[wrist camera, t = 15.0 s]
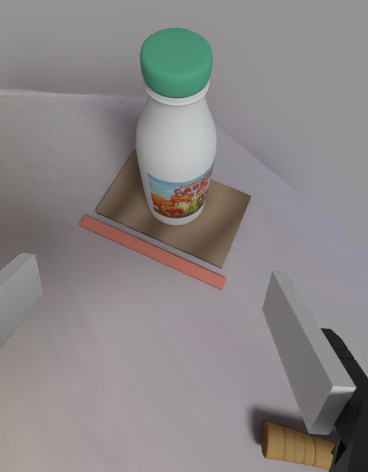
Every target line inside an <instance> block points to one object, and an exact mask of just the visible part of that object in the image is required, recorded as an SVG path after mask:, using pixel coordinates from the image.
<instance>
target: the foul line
mask: <svg viewBox="0 0 368 472" xmlns="http://www.w3.org/2000/svg"><path fill="white" fill-rule="evenodd" d="M79 225H80V226H82V227H84V228H86V229H88V230H90V231H93V232H95V233H97V234H99V235H101V236H104V237H106V238H108V239H110V240H112V241H115V242H117V243H119V244H121V245H123V246H126V247H128V248H130V249H132V250H134V251H137V252H139V253H141V254H143V255H145V256H148V257H150V258H152V259H154V260H156V261H158V262H161V263H163V264H165V265H167V266H169V267H172V268H174V269H176V270H178V271H180V272H183V273H185V274H187V275H189V276H191V277H194V278H196V279H198V280H200V281H202V282H205V283H207V284H209V285H211V286H213V287H215V288H218V289H220V290H222V288H223V285H224V283H225V280H226V278H224V277H222V276H220V275H217V274H215V273H213V272H211V271H209V270H206V269H204V268H202V267H200V266H197V265H195V264H193V263H191V262H189V261H186V260H184V259H182V258H180V257H177V256H175V255H173V254H171V253H169V252H166V251H164V250H162V249H160V248H157V247H155V246H153V245H151V244H148V243H146V242H144V241H142V240H140V239H137V238H135V237H133V236H131V235H128V234H126V233H124V232H122V231H120V230H117V229H115V228H113V227H111V226H108V225H106V224H104V223H102V222H100V221H97V220H95V219H93V218H91V217H88V216H86V215H85V216H84V218H83V219H82V221H81V222H80V224H79Z"/></svg>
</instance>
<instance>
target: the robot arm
mask: <svg viewBox="0 0 368 472" xmlns="http://www.w3.org/2000/svg"><path fill="white" fill-rule="evenodd" d="M42 295H43V290H42V285H41V280H40V275H39V270H38V266H37V261H36V256H35V254H28V253H20V254H19V255H18V256H17V257H16V258H14V259H13V260H12V261H11V262H10V263H9V264H7V265H6V266H5V267H4V268H3V269H1V270H0V348H1V347H2V346H3V344H4V343H5V342H6V341H7V339H8V338H9V337H10V336H11V334H12V333H13V332H14V331H15V329H16V328H17V327H18V326H19V324H20V323H21V322H22V320H23V319H24V318H25V317H26V315H27V314H28V313H29V312H30V310H31V309H32V308H33V307H34V305H35V304H36V303H37V302H38V300H39V299H40V298H41V297H42ZM262 310H263V313H264V316H265V318H266V321H267V324H268V326H269V329H270V332H271V334H272V337H273V340H274V342H275V345H276V348H277V350H278V353H279V356H280V358H281V361H282V364H283V366H284V369H285V372H286V374H287V377H288V380H289V382H290V385H291V388H292V390H293V393H294V396H295V398H296V401H297V404H298V406H299V409H300V412H301V415H302V417H303V420H304V423H305V425H306V428H307V431H308V433H309V434H323V435H329V434H330V432H331V431H332V429H333V427H334V425H335V428H336V430H337V432H338V434H339V436H340V438H339V440H338V441H337V443H336V445H335V446H334V448H333V449H332V451H331V454H332V455H333V459H332V463H331V466H330V470H329V472H368V378H367V376H366V375H365V373H364V372H363V370H362V369H361V367H360V366H359V364H358V363H357V361H356V360H354V357H353V355H352V354H351V352H350V351H348V348H347V346H346V345H345V343H344V342H343V340H342V339H341V338H340V337H339V336H338V335H337V334H336V333H334V332H333V331H332V330H331V329H324V328H320V327H319V325H318V324H317V322H316V320H315V319H314V317H313V316H312V314H311V312H310V311H309V309H308V307H307V306H306V304H305V302H304V301H303V299H302V297H301V296H300V294H299V293H298V291H297V289H296V288H295V286H294V284H293V283H292V281H291V279H290V278H289V276H288V275H287V273H286V272H278V271H272V275H271V278H270V282H269V286H268V289H267V293H266V297H265V300H264V304H263V308H262Z"/></svg>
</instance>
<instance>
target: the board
mask: <svg viewBox="0 0 368 472" xmlns="http://www.w3.org/2000/svg"><path fill="white" fill-rule="evenodd" d="M250 198H251V196H250V195H247V194H245V193H242V192H240V191H237V190H235V189H233V188H230V187H228V186H225V185H223V184H220V183H218V182H215V181H213V180H210V183H209V188H208V192H207V196H206V200H205V204H204V207H203V210H202V212H201V213H200V215H199V216H198V217H197V218H196V219H194V220H193V221H191V222H189V223H187V224H184V225H169V224H165V223H163V222H161V221H159V220H158V219H157V218H155V217H154V216H153V214H152V213H151V211H150V210H149V207H148V204H147V200H146V196H145V192H144V187H143V183H142V178H141V174H140V169H139V164H138V159H137V152H136V149H135V150H134V151H133V153H132V154H131V156H130V157H129V159H128V161H127V162H126V164H125V165H124V167H123V168H122V170H121V172H120V173H119V175H118V176H117V178H116V180H115V181H114V183H113V184H112V186H111V187H110V189H109V191H108V192H107V194H106V195H105V197H104V198H103V200H102V202H101V203H100V205H99V206H98V208H97V209H96V213H98V214H100V215H102V216H104V217H107V218H109V219H111V220H113V221H116V222H118V223H120V224H122V225H125V226H127V227H129V228H131V229H134V230H136V231H138V232H140V233H143V234H145V235H147V236H149V237H152V238H154V239H156V240H158V241H161V242H163V243H165V244H167V245H170V246H172V247H174V248H176V249H178V250H181V251H183V252H185V253H187V254H190V255H192V256H194V257H196V258H199V259H201V260H203V261H205V262H208V263H210V264H212V265H214V266H217V267H219V268H222V266H223V264H224V261H225V259H226V257H227V254H228V252H229V249H230V247H231V244H232V242H233V239H234V237H235V235H236V232H237V230H238V227H239V225H240V222H241V220H242V217H243V215H244V213H245V210H246V208H247V205H248V203H249V200H250Z"/></svg>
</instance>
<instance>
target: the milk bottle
mask: <svg viewBox="0 0 368 472" xmlns="http://www.w3.org/2000/svg"><path fill="white" fill-rule="evenodd" d="M212 58H213V57H212V50H211V47H210V45H209V44H208V42H207V41H206V40H205V39H204V38H203V37H202V36H200V35H199V34H197V33H195V32H193V31H190V30H187V29H181V28H169V29H164V30H160V31H158V32H156V33H154V34H153V35H151V36H150V37H148V38H147V39H146V40H145V41H144V43H143V45H142V47H141V52H140V61H141V70H142V75H143V84H144V87H145V90H146V91H147V93H148V95H147V100H146V104H145V107H144V109H143V111H142V114H141V116H140V119H139V121H138V125H137V130H136V152H137V159H138V164H139V169H140V174H141V178H142V183H143V187H144V192H145V196H146V200H147V204H148V207H149V210H150V211H151V213H152V214H153V216H154V217H155V218H157V219H158V220H159V221H161V222H163V223H165V224H169V225H184V224H187V223H189V222H191V221H193V220H194V219H196V218H197V217H198V216H199V215H200V213H201V212H202V210H203V207H204V204H205V200H206V196H207V192H208V188H209V183H210V179H211V174H212V170H213V165H214V160H215V154H216V142H217V139H216V130H215V125H214V122H213V119H212V116H211V114H210V112H209V109H208V106H207V103H206V98H205V94H206V92H207V90H208V88H209V84H210V80H209V79H210V75H211V69H212Z"/></svg>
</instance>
